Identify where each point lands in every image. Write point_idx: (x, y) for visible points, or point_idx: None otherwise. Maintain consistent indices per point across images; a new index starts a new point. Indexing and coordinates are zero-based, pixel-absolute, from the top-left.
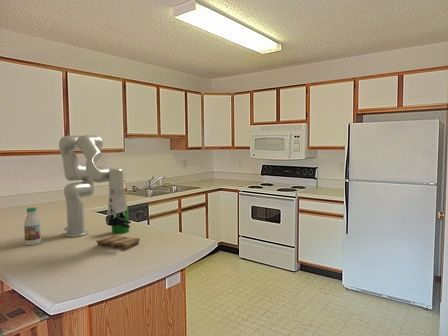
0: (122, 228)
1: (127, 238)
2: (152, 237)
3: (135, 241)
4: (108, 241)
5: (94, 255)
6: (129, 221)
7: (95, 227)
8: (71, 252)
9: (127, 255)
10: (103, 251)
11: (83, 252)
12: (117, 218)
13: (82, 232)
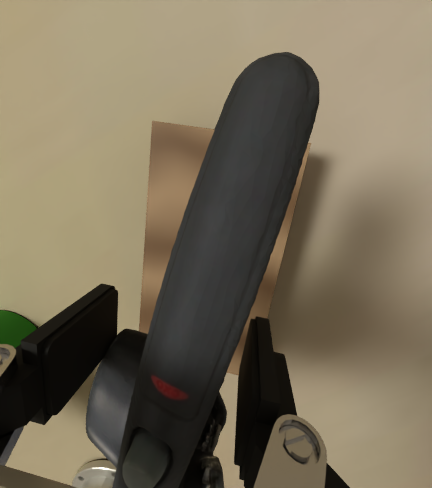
0: (6, 342)
1: (175, 215)
2: (27, 114)
3: (208, 130)
4: (262, 305)
5: (415, 293)
6: (289, 64)
7: (8, 463)
8: (363, 416)
9: (423, 80)
10: (340, 279)
11: (361, 367)
12: (220, 386)
13: (111, 483)
